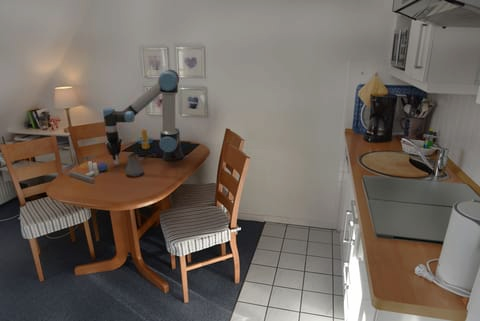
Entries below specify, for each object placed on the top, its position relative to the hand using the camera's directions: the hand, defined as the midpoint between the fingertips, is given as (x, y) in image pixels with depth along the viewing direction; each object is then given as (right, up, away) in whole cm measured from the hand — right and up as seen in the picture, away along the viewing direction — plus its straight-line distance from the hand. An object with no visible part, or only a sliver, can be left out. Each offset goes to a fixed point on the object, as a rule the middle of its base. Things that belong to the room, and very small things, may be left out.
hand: (116, 163), depth 236 cm
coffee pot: (+23, -7, -15) cm, 28 cm away
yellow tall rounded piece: (+9, +12, +41) cm, 44 cm away
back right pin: (-12, -7, -13) cm, 19 cm away
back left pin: (-8, -8, -15) cm, 19 cm away
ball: (-6, -2, -9) cm, 11 cm away
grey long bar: (-14, -10, -21) cm, 27 cm away
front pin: (-8, -5, -12) cm, 15 cm away
